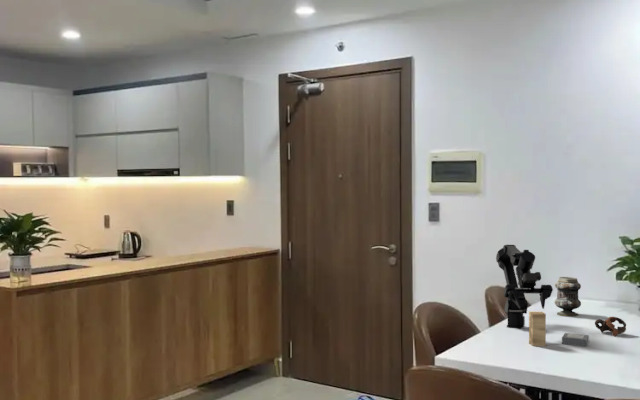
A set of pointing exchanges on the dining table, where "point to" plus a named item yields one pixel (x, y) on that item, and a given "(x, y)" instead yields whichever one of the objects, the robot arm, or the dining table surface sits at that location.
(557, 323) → the dining table surface
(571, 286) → the apothecary jar
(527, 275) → the robot arm
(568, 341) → the base tile
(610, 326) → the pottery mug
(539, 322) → the oak post
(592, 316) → the dining table surface
